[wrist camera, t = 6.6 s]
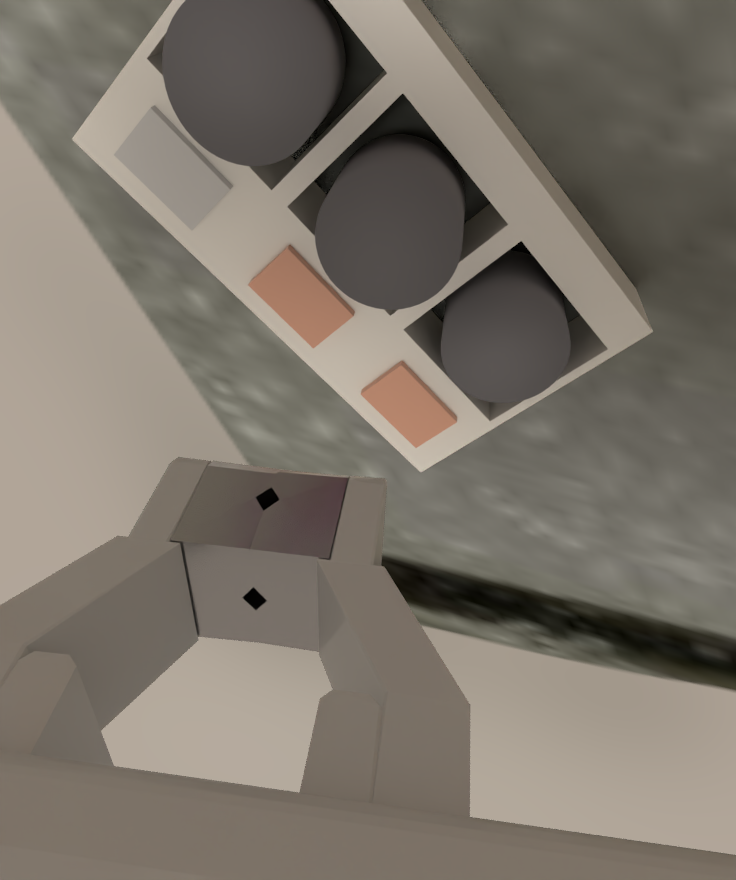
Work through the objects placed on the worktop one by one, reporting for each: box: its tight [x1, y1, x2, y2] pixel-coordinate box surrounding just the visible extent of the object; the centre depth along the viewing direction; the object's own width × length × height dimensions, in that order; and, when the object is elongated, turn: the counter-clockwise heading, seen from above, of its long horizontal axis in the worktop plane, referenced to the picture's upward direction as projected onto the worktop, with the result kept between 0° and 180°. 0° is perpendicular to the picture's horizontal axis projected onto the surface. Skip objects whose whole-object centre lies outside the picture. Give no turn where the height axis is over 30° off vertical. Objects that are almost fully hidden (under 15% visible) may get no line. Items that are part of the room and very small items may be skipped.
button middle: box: [315, 134, 466, 310], centre depth 19 cm, size 4×4×3 cm
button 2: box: [441, 251, 571, 403], centre depth 22 cm, size 4×4×3 cm
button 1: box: [162, 0, 346, 166], centre depth 17 cm, size 4×4×3 cm
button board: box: [72, 0, 653, 472], centre depth 21 cm, size 15×9×3 cm, turn 43°
